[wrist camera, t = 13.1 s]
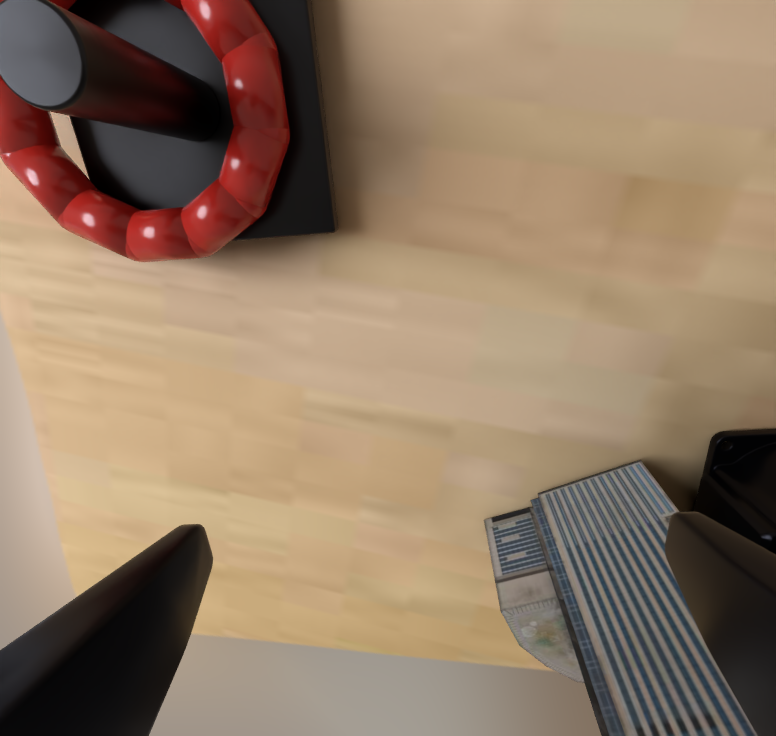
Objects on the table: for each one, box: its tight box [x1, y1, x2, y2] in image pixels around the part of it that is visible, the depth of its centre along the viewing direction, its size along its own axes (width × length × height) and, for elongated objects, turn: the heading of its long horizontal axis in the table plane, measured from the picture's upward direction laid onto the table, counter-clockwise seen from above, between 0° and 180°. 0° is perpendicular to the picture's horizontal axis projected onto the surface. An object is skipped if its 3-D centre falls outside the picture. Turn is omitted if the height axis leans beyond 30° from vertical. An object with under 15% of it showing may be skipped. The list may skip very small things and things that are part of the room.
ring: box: [0, 0, 290, 262], centre depth 15 cm, size 10×10×2 cm
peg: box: [0, 0, 338, 241], centre depth 13 cm, size 9×9×8 cm
